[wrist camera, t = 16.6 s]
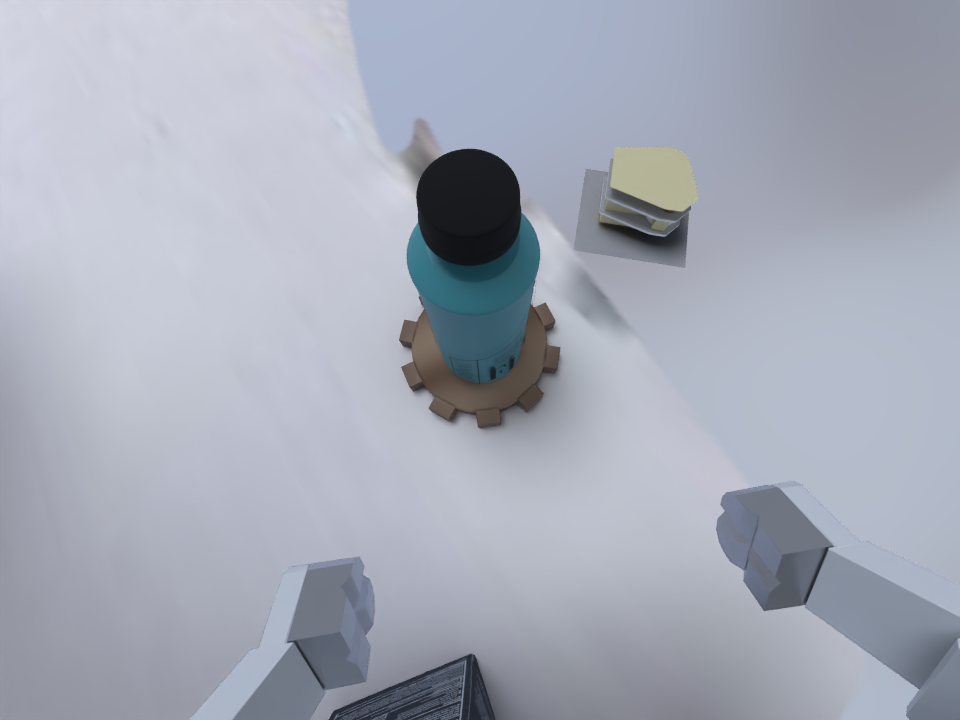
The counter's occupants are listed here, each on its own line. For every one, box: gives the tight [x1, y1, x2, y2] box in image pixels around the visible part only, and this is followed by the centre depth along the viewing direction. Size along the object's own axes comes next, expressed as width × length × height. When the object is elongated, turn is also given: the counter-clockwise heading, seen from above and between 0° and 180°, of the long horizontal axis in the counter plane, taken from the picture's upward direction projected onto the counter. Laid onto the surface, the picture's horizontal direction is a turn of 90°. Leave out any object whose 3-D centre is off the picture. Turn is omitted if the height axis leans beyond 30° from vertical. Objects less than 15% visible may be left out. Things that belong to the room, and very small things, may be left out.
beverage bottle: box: [407, 149, 540, 384], centre depth 25 cm, size 6×7×20 cm
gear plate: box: [399, 297, 560, 427], centre depth 36 cm, size 13×13×2 cm
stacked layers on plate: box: [574, 147, 698, 268], centre depth 37 cm, size 10×9×6 cm
